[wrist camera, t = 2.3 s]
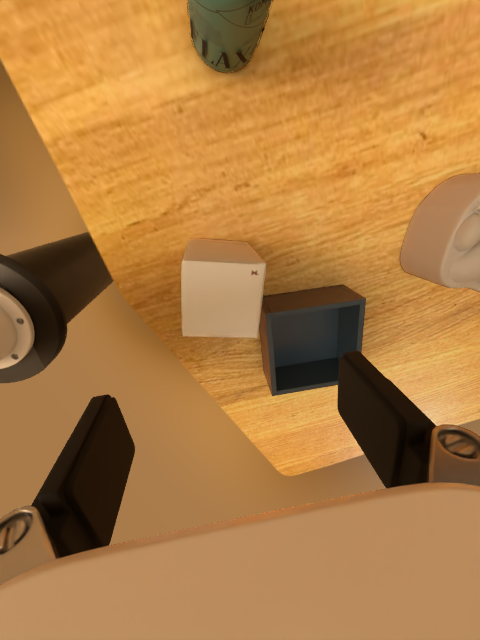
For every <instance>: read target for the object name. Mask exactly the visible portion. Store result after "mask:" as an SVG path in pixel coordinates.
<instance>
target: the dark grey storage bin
mask: <svg viewBox="0 0 480 640" xmlns="http://www.w3.org/2000/svg"><path fill="white" fill-rule="evenodd" d="M365 303H366V298H364V297H362V296H361V295H359V294H358V293H356V292H354V291H353V290H351V289H350V288H348V287H346V286H345V285H337V286H330V287H323V288H317V289H310V290H303V291H297V292H290V293H283V294H276V295H270V296H263V300H262V306H261V313H260V322H259V327H260V338H261V348H262V359H263V370H264V374H265V376H266V379H267V382H268V385H269V388H270V391H271V394H272V396H276V395H282V394H287V393H293V392H299V391H305V390H310V389H316V388H322V387H328V386H334V385H338V378H339V358H340V357H343V354H344V353H346V352H352V351H359V352H360V353H361V350H362V338H363V326H364V315H365Z"/></svg>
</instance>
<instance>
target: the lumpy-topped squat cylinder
mask: <svg viewBox="0 0 480 640" xmlns="http://www.w3.org/2000/svg"><path fill="white" fill-rule="evenodd" d="M400 264H401V267H402V269H403V270H404V271H405V272H407V273H409V274H412V275H415V276H417V277H420V278H423V279H425V280H428V281H431V282H434V283H436V284H440V285H442V286H445V287H448V288H469V289H472V290H475V291H479V292H480V173H472V174H461V175H456V176H453V177H451V178H449V179H447V180H446V181H444V182H442V183H441V184H439V185H438V186H437V187H436V188H435V189H434V190H433V191H432V192H431V193H430V194H429V195H428V196H427V197H426V198H425V199H424V200H423V201H422V202H421V204H420V205H419V206H418V207H417V209H416V211H415V213H414V215H413V217H412V219H411V222H410V224H409V227H408V229H407V232H406V235H405V238H404V242H403V245H402V249H401V253H400Z"/></svg>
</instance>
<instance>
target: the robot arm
mask: <svg viewBox="0 0 480 640" xmlns="http://www.w3.org/2000/svg"><path fill="white" fill-rule="evenodd" d="M34 340H35V330H34V325H33V322H32V320H31V317H30V315H29V314H28V312H27V310H26V309H25V307H24V306H23V305H22V304H21V303H20V302H19V301H18V300H17V299H16V298H15V297H14V296H12V295H11V294H10V293H9V292H7V291H5V290H4V289H2V288H0V369H3V368H7V367H10V366H12V365H14V364H16V363H18V362H19V361H20V360H22V359H23V358H24V357H25V356H26V355H27V354H28V353H29V351H30V350H31V348H32V346H33V343H34ZM338 411H339V413H340V415H341V417H342V419H343V420H344V422H345V423H346V425H347V427H348V428H349V430H350V431H351V433H352V435H353V436H354V438H355V439H356V441H357V443H358V444H359V446H360V447H361V449H362V451H363V452H364V454H365V455H366V457H367V459H368V460H369V462H370V463H371V465H372V467H373V468H374V469H375V471H376V473H377V475H378V476H379V478H380V479H381V481H382V483H383V484H384V486H385V487H386V488H387V489H381V490H376V491H370V492H365V493H360V494H354V495H349V496H344V497H339V498H334V499H329V500H324V501H319V502H315V503H309V504H304V505H299V506H294V507H290V508H284V509H279V510H275V511H270V512H265V513H261V514H255V515H250V516H246V517H240V518H236V519H231V520H226V521H221V522H217V523H212V524H207V525H202V526H197V527H192V528H188V529H183V530H179V531H174V532H169V533H164V534H159V535H155V536H150V537H145V538H140V539H136V540H131V541H127V542H122V543H118V544H114V545H110V546H109V543H110V541H111V537H112V534H113V530H114V526H115V523H116V518H117V515H118V511H119V508H120V504H121V501H122V497H123V493H124V490H125V486H126V483H127V479H128V475H129V471H130V468H131V464H132V461H133V457H134V453H135V446H134V442H133V440H132V438H131V435H130V433H129V430H128V428H127V425H126V423H125V420H124V418H123V415H122V413H121V411H120V408H119V406H118V403H117V401H116V399H115V398H114V397H113V398H111V396H110V395H103V396H96V397H93V398H92V399H91V401H90V402H89V404H88V406H87V408H86V410H85V411H84V413H83V415H82V417H81V419H80V420H79V422H78V424H77V426H76V427H75V429H74V431H73V433H72V434H71V437H70V438H69V440H68V441H67V443H66V445H65V447H64V449H63V450H62V452H61V454H60V456H59V457H58V459H57V461H56V463H55V464H54V466H53V468H52V470H51V471H50V473H49V475H48V477H47V479H46V480H45V482H44V484H43V486H42V488H41V489H40V491H39V493H38V495H37V496H36V498H35V500H34V502H33V503H32V505H31V506H24V507H20V508H17V509H15V510H13V511H11V512H9V513H8V514H6V515H4V516H3V517H2V518H1V519H0V640H480V436H478V435H477V434H476V433H474V432H472V431H470V430H468V429H465V428H463V427H460V426H456V425H440V426H436V425H435V424H434V423H433V422H432V421H431V420H430V419H429V418H428V417H427V416H426V415H425V414H424V413H423V412H422V411H421V410H420V409H419V408H418V407H417V406H416V405H415V404H414V403H412V402H411V401H410V400H409V399H408V398H407V397H406V396H405V395H404V394H403V393H402V392H401V391H400V390H399V389H398V388H397V387H396V386H395V385H394V384H393V383H392V382H391V381H390V380H389V379H387V378H385V377H384V376H383V375H382V374H381V373H380V372H379V371H378V370H377V369H376V368H375V367H374V366H373V365H372V364H371V363H370V362H369V361H368V360H367V359H366V358H365V357H364V356H363V355H362V354H361V353H360V352H359V351H352V352H346V353H344V354H343V357H340V358H339V378H338Z"/></svg>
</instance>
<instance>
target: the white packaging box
mask: <svg viewBox="0 0 480 640" xmlns="http://www.w3.org/2000/svg"><path fill="white" fill-rule="evenodd" d="M266 265H267V264H266V263H265V262H264V261H263V260H262V258H261V257H260V256H259V255H258V254H257V253H256V252H255V251H254V250H253V248H252V247H251V246H250V245H249V244H248V243H247V242H242V241H228V240H215V239H202V238H190V239H189V241H188V245H187V247H186V251H185V254H184V257H183V260H182V265H181V318H182V336H190V337H231V338H254V339H255V338H257V337H258V331H259V322H260V313H261V306H262V300H263V288H264V280H265V272H266Z"/></svg>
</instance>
